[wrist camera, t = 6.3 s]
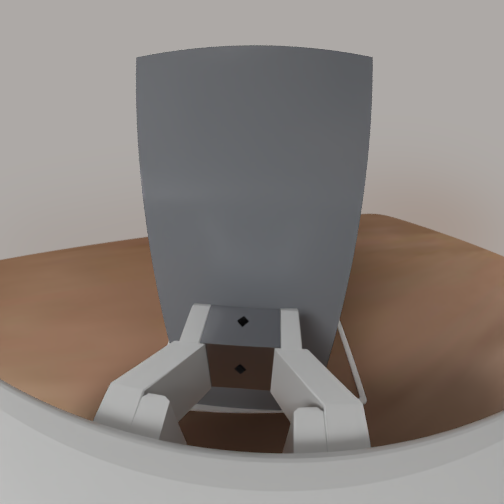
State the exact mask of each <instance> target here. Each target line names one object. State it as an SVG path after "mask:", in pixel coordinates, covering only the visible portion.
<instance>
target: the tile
mask: <svg viewBox="0 0 504 504" xmlns="http://www.w3.org/2000/svg"><path fill="white" fill-rule="evenodd" d="M372 61H373V60H372V57H368V56H363V55H358V54H352V53H346V52H339V51H332V50H324V49H314V48H304V47H289V46H261V45H260V46H258V45H256V46H254V45H253V46H252V45H250V46H221V47H207V48H195V49H187V50H179V51H172V52H165V53H159V54H152V55H147V56H142V57H137V58H136V106H137V107H136V108H137V130H138V131H137V132H138V148H139V161H140V173H141V183H142V193H143V201H144V209H145V216H146V225H147V232H148V238H149V245H150V251H151V257H152V263H153V268H154V274H155V279H156V284H157V289H158V294H159V299H160V304H161V309H162V313H163V318H164V322H165V326H166V331H167V335H168V339H169V343H171V342H173V341H179V340H180V338H181V335H182V332H183V329H184V327H185V324H186V321H187V318H188V316H189V313H190V310H191V308H192V306H193V305H194V304H195V303H199V304H210V305H224V306H235V307H246V308H270V309H280V308H297V309H298V310H299V319H300V329H301V340H302V349H308V350H309V351H310V352H311V353H312V354H313V355H314V356H315V357H316V358H317V359H318V360H319V361H320V362H321V363H322V364H323V365H324V366H325V367H326V366H327V363H328V360H329V356H330V353H331V349H332V346H333V342H334V338H335V335H336V331H337V327H338V323H339V319H340V315H341V311H342V307H343V303H344V298H345V294H346V289H347V285H348V280H349V276H350V271H351V266H352V261H353V256H354V250H355V245H356V239H357V233H358V228H359V221H360V215H361V208H362V201H363V194H364V186H365V178H366V169H367V160H368V150H369V138H370V124H371V106H372V71H373V64H372V63H373V62H372ZM197 404H201V405H210V406H219V407H229V408H241V409H257V410H282V409H281V408H280V406H279V405H278V403H277V402H276V400H275V398H274V397H273V395H272V394H271V392H270V391H268V390H254V389H242V388H226V387H212V386H211V389H210V390H209V391H208V392H207V393H206V394H205V395H204V396H203V397H202V398H201V399H200V400H199V401H198V403H197Z"/></svg>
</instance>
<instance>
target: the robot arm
mask: <svg viewBox="0 0 504 504" xmlns="http://www.w3.org/2000/svg"><path fill="white" fill-rule="evenodd" d="M211 386H212V387H226V388H242V389H254V390H268V391H270V392H271V394H272V395H273V397H274V398H275V400H276V402H277V403H278V405H279V406H280V408H281V409H282V411H283V412H284V414H285V415H286V417H287V418H288V420H289V421H290V423H291V424H290V427H289V431H288V435H287V438H286V441H285V445H284V448H283V453H255V452H240V451H229V450H219V449H211V448H203V447H196V446H190V445H187V443H186V440H185V438H184V436H183V433H182V431H181V429H180V426H179V424H178V422H179V421H180V420H181V419H182V418H183V417H184V416H185V415H186V414H187V413H188V412H189V411H190V410H191V409H192V408H193V407H194V406H195V405H196V404H197V403H198V401H199V400H200V399H201V398H202V397H203V396H204V395H205V394H206V393H207V392H208V391H209V390H210V389H211ZM0 504H504V410H503V411H501V412H498V413H496V414H494V415H491V416H489V417H486V418H484V419H481V420H478V421H476V422H473V423H470V424H467V425H464V426H461V427H458V428H455V429H452V430H448V431H445V432H441V433H438V434H434V435H430V436H427V437H423V438H418V439H414V440H410V441H405V442H400V443H395V444H389V445H383V446H377V447H371V444H370V439H369V433H368V428H367V423H366V418H365V413H364V408H363V403H362V402H361V401H360V400H358V399H357V398H356V397H355V396H354V395H353V394H352V393H351V392H350V391H349V390H348V389H347V388H346V387H345V386H344V385H343V384H342V383H341V382H340V381H339V380H338V379H337V378H336V377H335V376H334V375H333V374H332V373H331V372H330V371H329V370H328V369H327V368H326V367H325V366H324V365H323V364H322V363H321V362H320V361H319V360H318V359H317V358H316V357H315V356H314V355H313V354H312V353H311V352H310V351H309V350H308V349H302V340H301V329H300V319H299V310H298V309H297V308H280V309H270V308H246V307H235V306H224V305H210V304H199V303H195V304H194V305H193V306H192V308H191V310H190V313H189V316H188V318H187V321H186V324H185V327H184V329H183V332H182V335H181V338H180V340H179V341H173V342H171V343H170V344H168V345H167V346H166V347H164V348H163V349H161V350H160V351H158V352H157V353H155V354H154V355H152V356H151V357H149V358H148V359H146V360H145V361H143V362H142V363H140V364H139V365H137V366H136V367H134V368H133V369H131V370H130V371H128V372H127V373H125V374H124V375H122V376H121V377H119V378H118V379H116V380H115V381H113V382H111V384H110V386H109V388H108V390H107V392H106V394H105V396H104V398H103V400H102V403H101V405H100V407H99V409H98V411H97V413H96V416H95V418H94V420H93V421H91V420H88V419H85V418H82V417H80V416H77V415H74V414H72V413H69V412H67V411H64V410H62V409H59V408H57V407H55V406H52V405H50V404H48V403H46V402H43V401H41V400H39V399H37V398H35V397H33V396H31V395H29V394H27V393H25V392H23V391H21V390H19V389H17V388H15V387H13V386H11V385H10V384H8V383H6V382H4V381H3V380H1V379H0Z"/></svg>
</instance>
